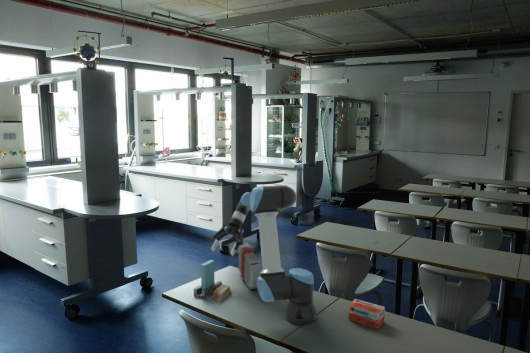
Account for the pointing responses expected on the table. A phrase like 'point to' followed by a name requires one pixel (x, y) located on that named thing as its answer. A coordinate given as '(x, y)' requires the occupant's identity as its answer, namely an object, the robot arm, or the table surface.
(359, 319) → the medicine box
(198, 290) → the board rack
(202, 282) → the teal board
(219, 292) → the block
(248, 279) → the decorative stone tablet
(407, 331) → the table surface
